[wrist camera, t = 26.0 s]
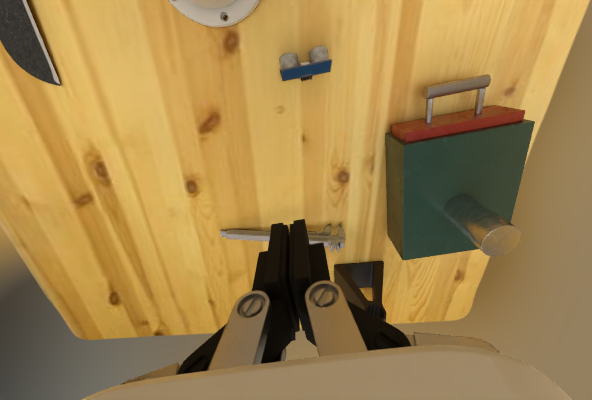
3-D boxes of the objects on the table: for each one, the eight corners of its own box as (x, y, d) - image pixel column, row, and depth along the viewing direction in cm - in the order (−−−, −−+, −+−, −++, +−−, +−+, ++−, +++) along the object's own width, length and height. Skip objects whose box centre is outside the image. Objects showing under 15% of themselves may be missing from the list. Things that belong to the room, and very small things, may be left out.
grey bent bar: (341, 222, 42) (349, 246, 36) (341, 228, 42) (348, 252, 37) (220, 229, 42) (209, 253, 36) (221, 234, 43) (210, 259, 37)
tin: (444, 196, 32) (484, 229, 26) (477, 191, 32) (525, 222, 25) (442, 222, 34) (479, 259, 27) (472, 217, 34) (517, 253, 27)
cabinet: (385, 133, 35) (403, 145, 29) (493, 112, 34) (535, 121, 28) (387, 234, 43) (402, 260, 37) (475, 220, 42) (505, 245, 36)
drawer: (391, 90, 32) (406, 93, 27) (501, 68, 31) (534, 68, 26) (392, 226, 41) (404, 244, 37) (477, 212, 40) (499, 229, 36)
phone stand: (383, 260, 46) (410, 318, 35) (380, 284, 48) (405, 345, 38) (333, 264, 46) (346, 323, 35) (334, 288, 49) (346, 349, 38)
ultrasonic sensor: (327, 59, 32) (329, 42, 28) (330, 77, 32) (332, 63, 28) (280, 68, 32) (277, 53, 29) (283, 86, 32) (280, 73, 29)
